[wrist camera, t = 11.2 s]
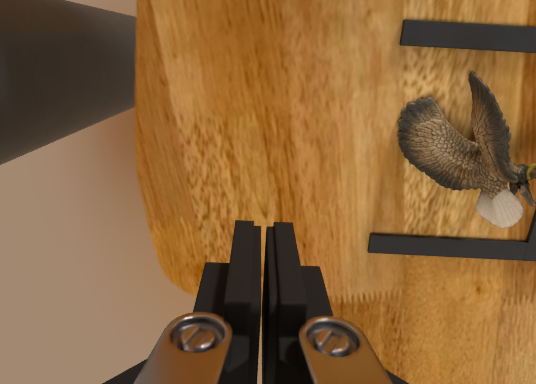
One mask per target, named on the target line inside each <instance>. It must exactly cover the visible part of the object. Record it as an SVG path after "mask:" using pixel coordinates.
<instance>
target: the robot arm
mask: <svg viewBox="0 0 536 384" xmlns="http://www.w3.org/2000/svg"><path fill="white" fill-rule="evenodd" d="M260 318H261V226H254V221H240V220H236V221H235V228H234V235H233V242H232V249H231V256H230V263H212V262H206V263H205V266H204V270H203V274H202V278H201V282H200V286H199V290H198V294H197V298H196V302H195V306H194V310H193V313H188V314H185V315H182V316H179V317H177V318H176V319H174V320H173V321H171V322H170V323H169V324H168V326H167V327H166V328H165V329H164V331H163V333H162V334H161V336H160V338H159V340H158V342H157V343H156V345H155V347H154V349H153V350H152V352H151V354H150V356H149V357H148V359H146V360H144V361H142V362H141V363H139V364H137V365H135V366H133V367H132V368H130V369H128V370H126V371H124V372H123V373H121V374H119V375H117V376H115V377H114V378H112V379H110V380H108V381H106V382H105V383H103V384H257V372H258V354H259V336H260ZM262 384H408V383H407V382H405V381H404V380H402V379H400V378H399V377H397V376H395V375H394V374H392V373H391V372H389V371H387V370H386V369H384V367H383V365H382V364H381V362H380V360H379V358H378V357H377V355H376V353H375V352H374V350H373V348H372V346H371V345H370V343H369V341H368V339H367V338H366V336H365V335H364V333H363V332H362V331H361V330H360V328H358V327H357V326H356V325H354V324H353V323H351V322H349V321H347V320H345V319H342V318H338V317H334V316H333V313H332V310H331V306H330V302H329V299H328V295H327V291H326V288H325V284H324V280H323V277H322V273H321V269H320V267H318V266H300V260H299V255H298V249H297V244H296V239H295V233H294V228H293V223H289V222H274V226H273V227H268V226H267V228H266V245H265V262H264V280H263V297H262Z"/></svg>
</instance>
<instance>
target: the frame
mask: <svg viewBox="0 0 536 384" xmlns="http://www.w3.org/2000/svg"><path fill="white" fill-rule="evenodd" d="M400 45H407V46H424V47H442V48H459V49H477V50H494V51H512V52H529V53H536V27H523V26H506V25H488V24H471V23H454V22H437V21H419V20H404V21H403V27H402V33H401V40H400ZM368 253H385V254H404V255H424V256H444V257H463V258H483V259H503V260H522V261H536V211H535V215H534V218H533V221H532V224H531V228H530V231H529V234H528V237H527V241H526V242H522V241H502V240H483V239H463V238H444V237H424V236H405V235H386V234H370V239H369V245H368Z"/></svg>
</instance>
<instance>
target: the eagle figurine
mask: <svg viewBox="0 0 536 384" xmlns="http://www.w3.org/2000/svg"><path fill="white" fill-rule="evenodd" d="M468 80H469V83H470V87H471V91H472V100H473V104H472V113H471V120H472V121H471V123H472V128H473V131H474V135H475V138H476V142H472V141H469V140H468V139H466V138H464V137H463V136H462V135H461V134H460V133H459V132H457V131H456V129H455V128H454V127H453V126H452V125H451V124H450V123H449V122H448V121H447V120H446V118H445V116H444V114H443V112H442V111H441V109H440V108H439V106H438V105H437V103H436V102H435V101H434V100H433V98H431V97H429V98H427V99H426V100H423V99H418V100H417V101H416V103H413V102H411V103H408V104H407V107H406V108H404V109H402V111H401V116H402V119H400V120H399V121H398V125H399V128H400V129H401V130H402V131H401V132H399V133H398V137H399V139H400V141H399V146H400V148H401V151H402V152H404V157H405V158H407V159H408V160H409V163H411V164H413V165H415V167H416V168H418V169H419V170H420V171H422V172H425V174H426V175H428V176H429V177H430V178H431V179H434V180H436V183H438V184H439V185H441V186H444V187H445V188H451V189H452V190H462V189H466V190H469V189H470V188H472V189H478V188H480V189H481V192H480V195H479V198H478V201H477V203H476V210H477V212H478V213H479V215H480V216H482V217H483V218H485V219H486V220H488V221H489V222H490V223H491V224H493V225H496V226H498V227H501V228H505V227H511V226H513V225H514V224H515V223H517V222H518V221H519V219H520V218H521V217H522V214H523V211H524V209H523V206H522V204H521V202H520V201H519V200H518V198H517V197H516V196H515V194H516V193H517V191H518V188H519V189H520V194H521V195H522V196H523V197H524V198H525V199H526V201H527V203H528V204H529V205H530V206H536V203H535V202H534V200H533V198H532V196H531V193H530V189H529V186H530V184H529V182H528V181H530V180H532V179H533V178H536V163H534V164H530V165H528V166H527V165H524V164H521V165H516V164H515V163H513V162H512V161H511V160H510V157H509V152H508V149H509V148H510V146H509V144H508V142H509V141H510V139H511V133H509V127H508V126H507V125H505V122H506V120H505V119H504V118H503V115H502V112H501V110H500V108H499V106H498V103H497V102H496V99H495V97H494V94H493V93H492V92H491V91H490V89H489V88H488V86H487V85H486V84H484V83H483V82H482V80H481V78H480V77H477V75H476V74H475V72H474V71H470V73H469V78H468ZM508 182H509V187H510V191H509V190H508V187H507V183H508Z"/></svg>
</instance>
